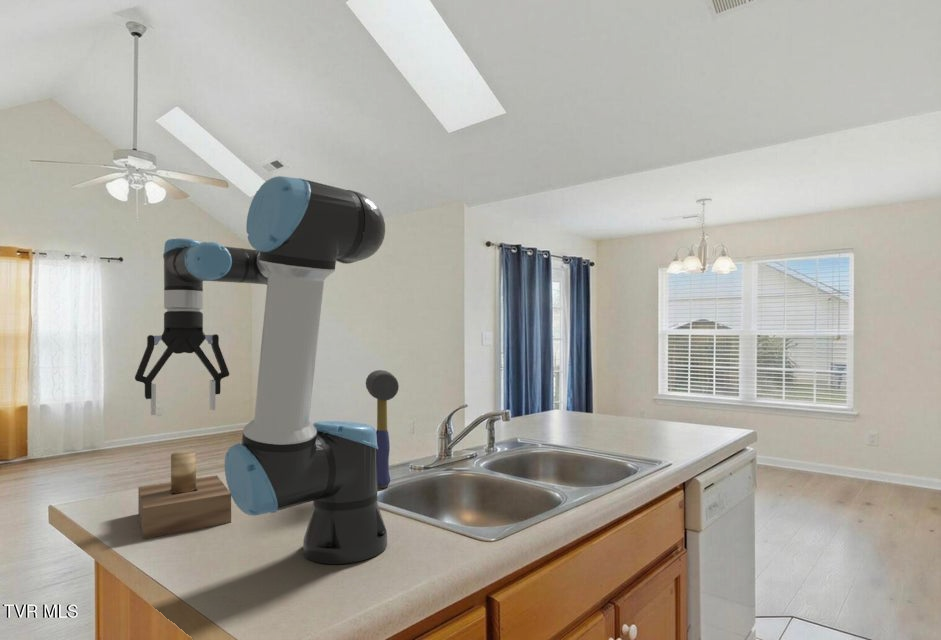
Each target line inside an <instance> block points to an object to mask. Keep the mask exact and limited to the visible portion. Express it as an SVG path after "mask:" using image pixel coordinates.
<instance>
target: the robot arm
mask: <svg viewBox="0 0 941 640" xmlns="http://www.w3.org/2000/svg"><path fill="white" fill-rule="evenodd" d="M245 224H246V229H245V230H246V233H247V234H248V235H247V240H248V243H249V244H250V246H251V247H252V249H251V248H250V249H249V248H241V247H232V246H224V245H222V244H221V243H218V242H213V241H208V242H207V241H204V242H201V241H199V240H196V239H191V238H178V237H177V238H170V239H168V240H166V241H165V242H164V248H163V249H164V250H163V254H162V256H163V257H162V258H163V288H164V289H163V308H164V309H165V310H166V311H164V313H163V332H162V334H161V335H153V334H149V335H147V337H146V348H145V350H144V353H143V356H142V358H141V360H140V363H139V365H138V368H137V371H136V372H135V376H134V379H135V381H136V382H139V383H143V384H144V398H145V400H150V415H151V416H156V415H157V395H156V394H157V386H156V385H157V383H155V382H153V381H154V379H155V378H156V377H157V375H158V374H159V373H160V371H161V369H162V368H163V367H164V366H165V364H166V363H167V362H168V360H169V359H170V357H171V356H172V355H173V354H176V355H177V354H178V355H179V354H184V353H185V354H196V357H198V359H199V360H200V362H201V364H203V366H204V367H205V369H206V370H207V371H208V373H209V374H210V375H211V377H212V379H209V410H211V411H216V395H220V394H221V382H222V379H224V378H228V377H229V376H230V372H229V368H228V366H227V363H226V360H225V358H224V355H223V352H222V350H221V347H220V345H219V343H220V342H219V341H220V340H219V334H216V333H215V334H205V332H204V314H203V312H202V311H201V310H202V309H203V308H204V303H203V302H204V295H203V294H204V288H203V287H204V285H203V284H204V282H205V281H206V282H221V283H235V284H236V283H239V284H240V283H241V284H243V283H244V284H255V285H256V284H258V285H266V292H265V293H266V294H265V301H264V302H265V303H264V313H263V314H264V315H263V323H262V324H263V326H262V333H261V334H262V335H261V345H260V355H259V365H258V376H257V388H256V396H255V397H256V399H255V408H254V417H253V419H252V420H251V421H249V422H248V423H247V424H246V425H244V427H243V428H242V438H241V442H240V443H239V442H238V443H235V444H234V445H231V446H230V447H229V448H228V449H227V452H226V453H225V458H224V473H225V474H224V475H225V480H226V485H227V489H228V490H229V492H230V493H231V499H232V500H233V502H234V504H236V505H235V506H237V508H238V509H239V510H240V511H241V512H243V513H244V514H245V515H248V516H250V517H251V516H252V517H253V516H254V517H256V516H261V515H264V514H275V513H277V512H279V511H281V510H284V509H288V508H293V507H295V506H299V505H303V504H306V503H310V502H312V504H313V506H312V507H313V508H312V511H311V515H310V517H309V521H308V524H307V528H306V530H305V534H304V537H303V542H302V543H303V546H302V551H303V555H304V557H305V558H306V559H308V560H310V561H313V562H315V563H320V564H326V565H327V564H328V565H342V564H343V565H345V564H351V563H357V562H362V561H365V560H368V559H371V558H373V557H376V556H378V555H380V554H381V553H383V552H384V551H385V550H386V548H387V546H388V531H387V527H386V524H385V521H384V519H383V516H382V513H381V510H380V507H379V503H378V487H377V450H378V446H377V436H376V431H377V429H375V428H374V426H372V425H371V424H368V423H361V422H353V421H339V420H337V421H336V420H320V421H315V422H314V423H311V421H310V413H311V403H312V395H313V386H314V378H315V377H314V375H315V369H316V361H317V360H316V358H317V349H318V341H319V329H320V323H321V322H320V321H321V314H322V312H321V311H322V303H323V294H324V293H323V292H324V284H325V279H327V278H328V277H329V276H330V275H332V274H333V273H334V272H335V270H336V264H337V263H341V264H345V265H346V264H352V263H357V262H359V261H362V260H366V259H368V258H370V257H372V256H373V255H375V254H376V252H378V250H379V249H380V248H381V246H382V244H383V242H384V239H385V235H386V222H385V218H384V216H383V213H382V211H381V209H380V208H379V206H378V205H377V204H376V203H375V202H374V201H373V200H372V199H371V198H370V197H368V196H367V195H365V194H363V193H361V192H358V191H355V190H350V189H344V188H340V187H336V186H332V185H328V184H324V183H320V182H317V181H312V180H309V179H305V178H300V177H299V178H298V177H297V178H296V177H289V176H280V175H278V176H273V177H270V178H269V179H268V180H266V181H265V182H263V184H261V185H260V187H259V189H257V190H256V192H255V194H254V196H253V198H252V200H251V202H250V206H249V208H248V212H247V218H246V223H245ZM161 341H162V342H163V344H165V346H166V348H165V350H164V352H163V353H162V354H161V356H160V358H159V359H158V360H157V362H155V365H154V366H153V367H152V369H151V370H150V371H149V373H148V374H147V375H146V376H144V375H145V372H146V369H147V367H148V365H149V362H150V359H151V356H152V355H153V352H154V349H155V346H157V345H159V344H160V343H159V342H161ZM204 341H207V343H208V344H209V345H210V346H211V350H212V353H213V355H214V358H215V359H216V362H217V365H218V367H219V370H220V372H218V370H217V369H216V368H215V366H214V365H213V363H212V362H211V361H210V359H209V358H208V356H207V355H206V353H205V352H204V351H203V349H202V348H201V345H202V344H203V342H204Z"/></svg>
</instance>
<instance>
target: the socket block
mask: <svg viewBox="0 0 941 640" xmlns="http://www.w3.org/2000/svg"><path fill="white" fill-rule="evenodd" d="M137 499H138V501H137V502H138V504H137V505H138V510H137V513H138V519H139V525H140V530H141V531H140V532H141V537H142V540H145V539H151V538H157V537H162V536H166V535H173V534H178V533H181V532H183V533H184V532H187V531H192V530H197V529H203V528H208V527H213V526H219V525H224V524H229V523H232V496H231V493H230V491H229V488H228V487H226V485H225V484H224V483H223V481H222V480H221V478H219V476H218V475H211V476H210V475H209V476H202V477H196V490H194V491H193V492H187V493H180V494H173V493H171V481H168V482H162V483H160V482H159V483H156V484H154V483H153V484H148V485H141V486H138V498H137Z"/></svg>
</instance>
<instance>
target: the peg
mask: <svg viewBox="0 0 941 640" xmlns="http://www.w3.org/2000/svg"><path fill="white" fill-rule="evenodd" d="M196 478H197V452H196V451H194V450H185V451H177V452H174V453H171V454H170V482H171V493H173V494H180V493H187V492H193V491H194V490H196Z"/></svg>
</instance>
